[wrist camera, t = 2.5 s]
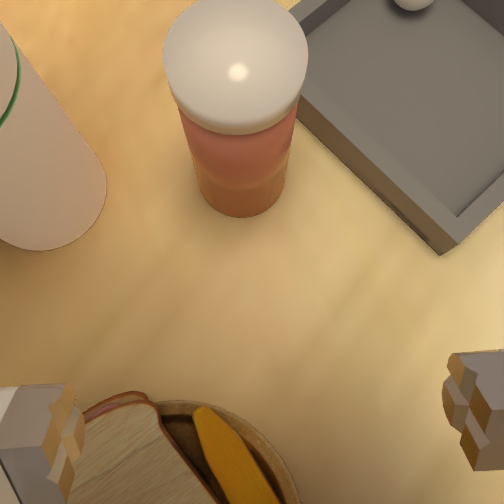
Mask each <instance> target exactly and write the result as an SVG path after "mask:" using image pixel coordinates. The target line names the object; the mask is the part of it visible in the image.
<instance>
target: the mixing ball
mask: <svg viewBox="0 0 504 504" xmlns="http://www.w3.org/2000/svg"><path fill="white" fill-rule="evenodd" d="M394 1H395V3H396V4H397V5H398V6H400V7H401V8H403V9H405V10H409V11H416V10H420V9H423V8H425V7H427V6H428V5H430V4H431V3H432V2H433V1H434V0H394Z"/></svg>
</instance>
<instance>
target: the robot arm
mask: <svg viewBox="0 0 504 504" xmlns="http://www.w3.org/2000/svg"><path fill="white" fill-rule="evenodd" d="M447 368H448V370H449V372H450V374H451V375H450V376H449V377H448V378H447V379H446V380H445V381H444V383H443V389H442V400H443V407H444V410H445V414H446V416H447V419H448V421H449V423H450V425H451V426H452V427H454V428H455V429H456V430H458V431H459V432H461V433H462V436H461V440H460V445H461V447H462V449H463V451H464V453H465V455H466V457H467V459H468V461H469V463H470V465H471V467H472V469H473V471H490V470H504V349H499V350H485V351H474V352H462V353H452V354H451V356H450V357H449V359H448V364H447ZM75 398H76V393H75V391H74V388H73V386H72V384H69V383H61V384H42V385H23V386H14V387H0V504H67V500H68V497H69V493H70V490H71V487H72V483H73V480H74V476H75V472H74V470H73V467H72V463H73V462H74V461H75V460H76V459H77V458H78V457H79V456H80V455H81V452H82V448H83V445H84V437H85V423H84V417H83V414H82V411H81V410H80V409H79V408H78V407H76V406H75V405H73V404H74V401H75Z"/></svg>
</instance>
